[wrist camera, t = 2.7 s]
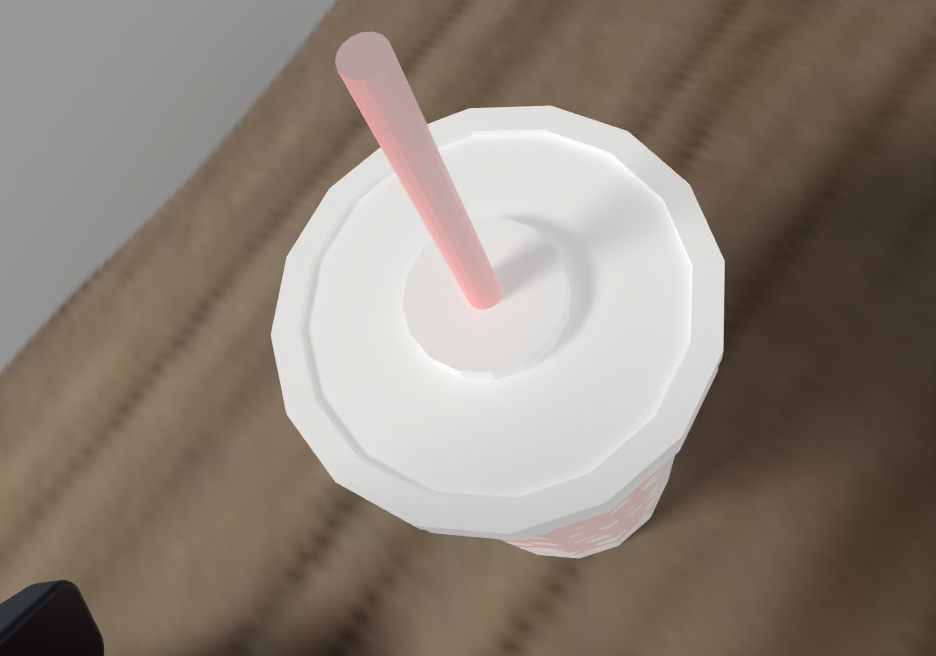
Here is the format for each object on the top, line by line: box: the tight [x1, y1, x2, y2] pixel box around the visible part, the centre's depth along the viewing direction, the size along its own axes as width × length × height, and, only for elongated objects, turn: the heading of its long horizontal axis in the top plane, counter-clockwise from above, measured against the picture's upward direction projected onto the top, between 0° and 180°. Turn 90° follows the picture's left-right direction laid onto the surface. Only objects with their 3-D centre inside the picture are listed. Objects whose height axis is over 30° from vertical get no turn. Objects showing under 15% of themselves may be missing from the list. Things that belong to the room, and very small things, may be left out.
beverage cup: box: [271, 32, 725, 558], centre depth 13 cm, size 6×6×14 cm
